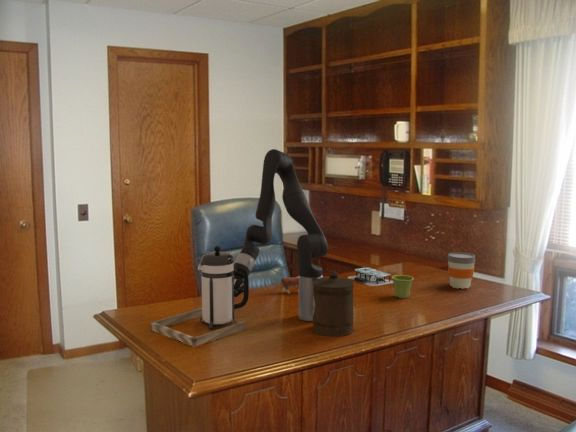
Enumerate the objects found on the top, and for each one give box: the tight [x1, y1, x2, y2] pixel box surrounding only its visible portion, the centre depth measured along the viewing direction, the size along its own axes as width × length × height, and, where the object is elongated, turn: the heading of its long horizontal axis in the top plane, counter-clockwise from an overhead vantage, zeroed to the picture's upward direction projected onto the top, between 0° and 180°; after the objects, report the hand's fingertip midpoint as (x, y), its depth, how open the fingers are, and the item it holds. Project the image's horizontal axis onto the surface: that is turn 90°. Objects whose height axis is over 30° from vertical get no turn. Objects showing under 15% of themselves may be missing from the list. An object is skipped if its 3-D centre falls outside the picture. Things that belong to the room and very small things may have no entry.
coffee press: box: [197, 245, 250, 331], centre depth 218 cm, size 17×16×30 cm
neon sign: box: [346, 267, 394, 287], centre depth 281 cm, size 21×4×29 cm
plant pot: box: [391, 274, 414, 299], centre depth 255 cm, size 9×9×9 cm
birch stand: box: [149, 307, 247, 346], centre depth 212 cm, size 25×24×3 cm
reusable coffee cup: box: [447, 251, 476, 290], centre depth 272 cm, size 13×13×15 cm
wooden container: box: [312, 270, 355, 337], centre depth 211 cm, size 15×15×22 cm
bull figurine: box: [280, 276, 299, 295], centre depth 261 cm, size 4×13×8 cm, turn 89°
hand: (223, 304), depth 224 cm, fingers closed
